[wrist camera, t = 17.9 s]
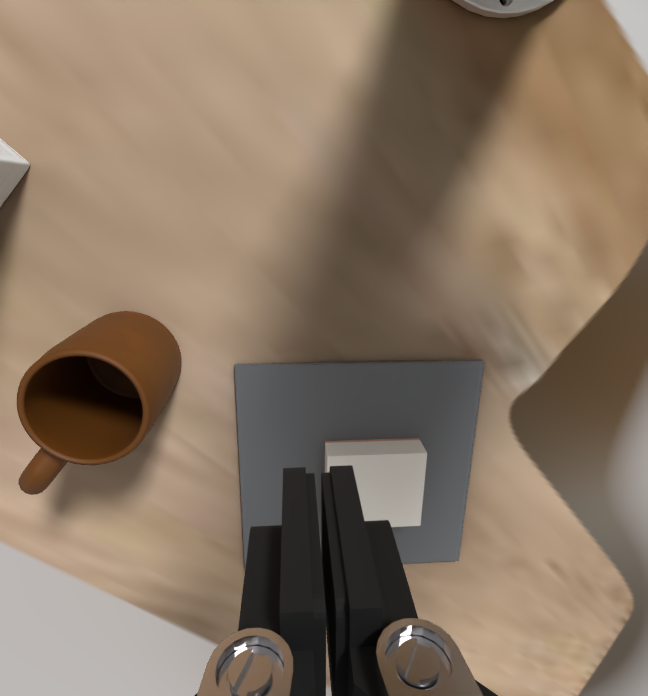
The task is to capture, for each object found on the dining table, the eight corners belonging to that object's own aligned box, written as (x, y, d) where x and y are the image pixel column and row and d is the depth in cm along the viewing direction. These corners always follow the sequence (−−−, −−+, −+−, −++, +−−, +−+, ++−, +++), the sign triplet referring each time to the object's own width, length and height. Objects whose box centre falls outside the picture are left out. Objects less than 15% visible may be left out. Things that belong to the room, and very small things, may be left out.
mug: (119, 458, 38) (69, 538, 29) (32, 407, 36) (-50, 477, 27) (204, 348, 36) (177, 399, 27) (116, 287, 34) (56, 320, 25)
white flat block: (327, 456, 36) (427, 453, 37) (324, 440, 39) (418, 438, 39) (326, 530, 39) (420, 525, 39) (323, 511, 41) (412, 507, 41)
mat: (234, 364, 36) (234, 365, 36) (482, 360, 38) (484, 361, 38) (245, 568, 43) (244, 571, 42) (457, 557, 44) (458, 560, 44)
